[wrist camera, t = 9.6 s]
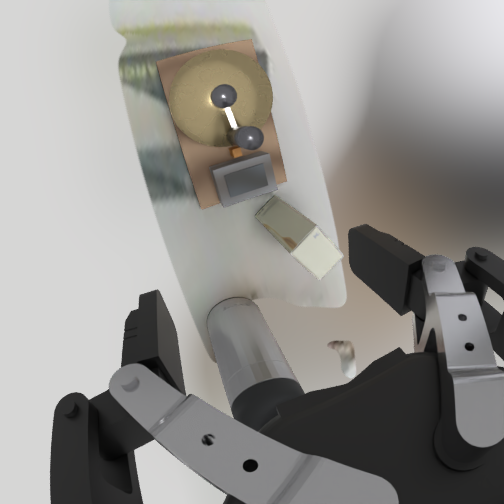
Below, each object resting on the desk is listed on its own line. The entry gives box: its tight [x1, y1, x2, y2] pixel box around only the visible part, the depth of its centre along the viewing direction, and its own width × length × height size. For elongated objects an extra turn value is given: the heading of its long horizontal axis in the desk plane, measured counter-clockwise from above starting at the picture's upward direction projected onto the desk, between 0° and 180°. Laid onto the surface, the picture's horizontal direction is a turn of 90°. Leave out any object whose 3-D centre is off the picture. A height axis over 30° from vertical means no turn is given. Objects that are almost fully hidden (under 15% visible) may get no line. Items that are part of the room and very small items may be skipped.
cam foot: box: [169, 49, 273, 150], centre depth 27 cm, size 12×12×8 cm
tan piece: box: [156, 39, 287, 209], centre depth 32 cm, size 20×12×5 cm, turn 14°
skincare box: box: [255, 195, 343, 280], centre depth 37 cm, size 6×4×12 cm
